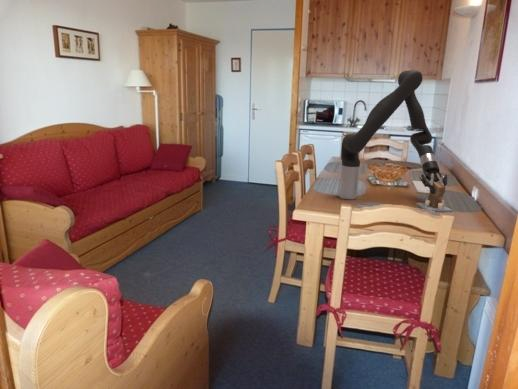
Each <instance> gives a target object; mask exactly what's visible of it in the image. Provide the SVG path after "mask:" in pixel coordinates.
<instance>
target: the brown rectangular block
mask: <svg viewBox="0 0 518 389" xmlns="http://www.w3.org/2000/svg"><path fill="white" fill-rule="evenodd" d="M433 186H434V189H435V193H434V194H432V193H431V192H430V193H429V194H428V197H427V199H428V200H430V205H431V206H432V207H438V203H441V201H442V200H443V197H444V194H445V193H444V191H445V192H446V186H443V185H442V184H441V183H440V182H433Z"/></svg>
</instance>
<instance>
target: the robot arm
mask: <svg viewBox="0 0 518 389" xmlns="http://www.w3.org/2000/svg"><path fill="white" fill-rule="evenodd" d="M397 83H398V86H397V88H395V89H394V91H392V92H390V93H389V94H388V95H386V96H384V97H383V98H382V99H381V100H379V101H378V103H377V104H375V105H374V107H373V108H372V109H371V110H370V112H369V113H368V116H367V118H366V120H365V123H364V124H363V125H362V127H361V128H359V130H358V131H357V132H356V133H348V134H346V135H345V136H344V137H343V138H342V143H341V152H340V159H341V166H340V167H341V169H340V178H339V179H338V185H337V186H338V188H337V197H338V198H339V199H345V200H356V199H357V196H358V187H359V186H358V185H359V178H360V169H361V168H360V167H361V166H360V165H361V160H360V158H359V153H361V152H362V151H363V150H364V149H365V147H366V146H367V145H368V143H369V141H370V140H371V139H372V138H373V136H374V135H375V134H376V133H377V132H378V130H379V129H380V128H382V126H383V125H384V124H385V123H387V121H388V120H389V119H390V118H391V117H392V115H393V114H394V113H395V112H396V111H397V109H399V107H401V105H402V104H403V103H405V105H406V109H407V113H408V116H409V120H410V121H409V123H410V126H411V128H412V129H413V130H422V131H417V132H415V133H413V134H411V136H409V137H410V138H409V141H410V143H411V145H412V146H413V147H414V149H415V150H416V151H417V155H418V158H419V162H420V165H421V170H422V171H423V172H422V173H423V174H420V176H419V181H422V183H423V184H424V186H425V187H429V189H430V192H431V193H432V194H434V193H435V189H434V186H433V182H440V183H441V184H442V185H443V186H445V187H446V186H447V185H448V174H444V175H443V174H442V173H441V172H440V171H441V170H440V167H439V163H438V160H437V158H436V156H435V153H434V150H433V148H432V146H431V145H429V144H430V143H432V141H433V135H432V133H431V131H430V129H429V128H428V126H427V123H426V118H425V113H424V110H423V107H422V105H421V104H420V102H419V99H418V97H417V95H416V93H415V91H416V90H417V89H418V88H419V87H420V86H421V84H422V83H423V74H422V73H421V71H419V70H415V69H414V70H403V71H402V72H400V73H399V75H398V77H397ZM444 194H446V190H445V191H444Z"/></svg>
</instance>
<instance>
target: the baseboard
mask: <svg viewBox="0 0 518 389" xmlns="http://www.w3.org/2000/svg"><path fill="white" fill-rule="evenodd" d="M411 182H412V185H413V187H414V188H415V190H416V192H417V194H420V195H421V194H423V195H424V194H425V195H429V193H430V189H429V187H425V186H424V184H423V183H422V181H421V180H412V181H411Z"/></svg>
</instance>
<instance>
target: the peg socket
mask: <svg viewBox="0 0 518 389" xmlns="http://www.w3.org/2000/svg"><path fill="white" fill-rule="evenodd" d="M416 206H418V207H420V208H421V209H423V210H425V209H427V210H432V211H437V212H438V213H452V212H453V209H451V208H449V206H448V207H447V206H446V205H445V200H443V199H442V201H441V203H438V207H432V206H431V205H430V200H428V198H427V199H425V202H416ZM437 212H436V213H437Z"/></svg>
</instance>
